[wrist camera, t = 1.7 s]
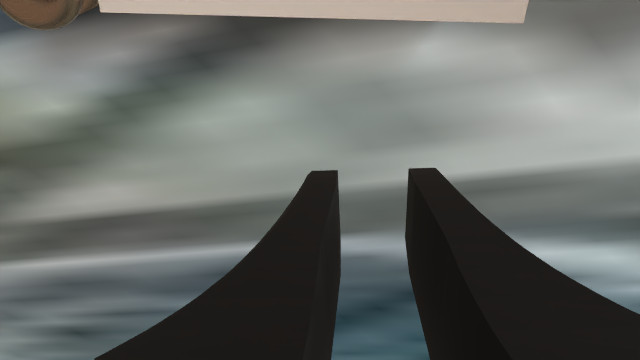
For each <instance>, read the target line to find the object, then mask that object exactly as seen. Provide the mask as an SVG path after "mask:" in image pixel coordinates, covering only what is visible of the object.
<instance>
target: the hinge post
mask: <svg viewBox="0 0 640 360" xmlns="http://www.w3.org/2000/svg"><path fill="white" fill-rule="evenodd" d="M97 6H99V3H98V0H0V8H1V9H2V11H3V12H4V13H5V14H7V15H8V16H9V17H10V18H11V19H13V20H14V21H16V22H18V23H19V24H21V25H24V26H26V27H29V28H32V29H37V30H54V29H58V28H61V27H64V26H66V25H68V24H69V23H71V22H72V21H73V20H74V19H75V18H76V17H77V16H78V15H80V14H82V13H84V12H86V11H88V10H91V9H93V8H95V7H97Z"/></svg>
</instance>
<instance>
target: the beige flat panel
mask: <svg viewBox="0 0 640 360" xmlns="http://www.w3.org/2000/svg"><path fill="white" fill-rule="evenodd" d="M528 2H529V0H98V3H99V7H100V11H101V12H109V13H147V14H185V15H223V16H261V17H300V18H338V19H376V20H414V21H453V22H491V23H524V19H525V15H526V10H527V6H528Z"/></svg>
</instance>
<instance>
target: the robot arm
mask: <svg viewBox="0 0 640 360" xmlns="http://www.w3.org/2000/svg"><path fill="white" fill-rule="evenodd" d="M405 241H406V250H407V259H408V267H409V275H410V279H411V283H412V287H413V291H414V295H415V299H416V304H417V308H418V312H419V316H420V320H421V324H422V328H423V332H424V336H425V340H426V344H427V348H428V352H429V356H430V360H640V314H637V313H635V312H633V311H631V310H629V309H627V308H625V307H623V306H621V305H619V304H617V303H615V302H613V301H611V300H609V299H607V298H605V297H603V296H601V295H599V294H598V293H596V292H594V291H592V290H590V289H589V288H587V287H585V286H583V285H582V284H580V283H578V282H576V281H575V280H573V279H571V278H569V277H568V276H566V275H564V274H563V273H561V272H559V271H558V270H556V269H554V268H553V267H551V266H550V265H548V264H547V263H545V262H544V261H542V260H541V259H539V258H538V257H536V256H535V255H534V254H532V253H531V252H529V251H528V250H526V249H525V248H523V247H522V246H521V245H519V244H518V243H517V242H515V241H514V240H513V239H511V238H510V237H509V236H508V235H506V234H505V233H504V232H503V231H501V230H500V229H499V228H498V227H496V226H495V225H494V224H493V223H492V222H491V221H489V220H488V219H487V218H486V217H485V216H484V215H483V214H481V213H480V212H479V211H478V210H477V209H476V208H475V207H474V206H473V205H472V204H471V203H470V202H469V201H468V200H467V199H466V198H465V197H464V196H463V195H462V194H461V193H460V192H459V191H458V190H457V189H456V188H455V187H454V186H453V185H452V184H451V183H450V182H449V181H448V180H447V179H446V178H445V177H444V176H443V175H442V174H441V173H440V172H439V171H438V170H437V169H436V168H412V169H409V174H408V193H407V213H406V232H405ZM340 275H341V240H340V215H339V191H338V170H330V171H311V172H310V173H309V174H308V175H307V177H306V179H305V181H304V183H303V184H302V186H301V188H300V189H299V191H298V192H297V194H296V195H295V197H294V198H293V200H292V201H291V203H290V204H289V206H288V207H287V208H286V210H285V211H284V212H283V214H282V215H281V216H280V218H279V219H278V220H277V222H276V223H275V224H274V225H273V226H272V228H271V229H270V230H269V231H268V232H267V234H266V235H265V236H264V237H263V238H262V239H261V241H260V242H259V243H258V244H257V245H256V246H255V247H254V248H253V249H252V250H251V251H250V252H249V253H248V254H247V255H246V256H245V257H244V258H243V259H242V260H241V261H240V262H239V263H238V264H237V265H236V266H235V267H234V268H233V269H232V270H231V271H229V272H228V273H227V274H226V275H225V276H224V277H222V278H221V279H220V280H219V281H217V282H216V283H215V284H214V285H212V286H211V287H210V288H209V289H207V290H206V291H205V292H204V293H202V294H201V295H200V296H198V297H197V298H196V299H194V300H193V301H191V302H190V303H188V304H187V305H185V306H184V307H183V308H181V309H180V310H178V311H177V312H175V313H174V314H172V315H170V316H169V317H167V318H166V319H164V320H163V321H161V322H159V323H158V324H156V325H155V326H153V327H151V328H150V329H148V330H146V331H144V332H143V333H141V334H139V335H137V336H135V337H134V338H132V339H130V340H128V341H126V342H124V343H123V344H121V345H119V346H117V347H115V348H114V349H112V350H110V351H108V352H106V353H104V354H102V355H100V356H98V357H96V358H95V359H94V360H331V354H332V345H333V337H334V328H335V319H336V311H337V302H338V293H339V284H340Z"/></svg>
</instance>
